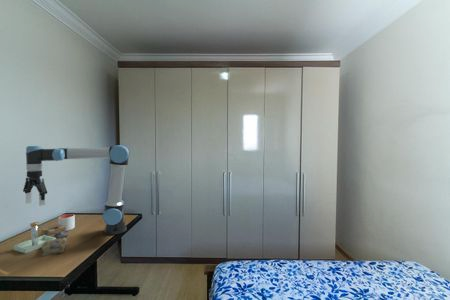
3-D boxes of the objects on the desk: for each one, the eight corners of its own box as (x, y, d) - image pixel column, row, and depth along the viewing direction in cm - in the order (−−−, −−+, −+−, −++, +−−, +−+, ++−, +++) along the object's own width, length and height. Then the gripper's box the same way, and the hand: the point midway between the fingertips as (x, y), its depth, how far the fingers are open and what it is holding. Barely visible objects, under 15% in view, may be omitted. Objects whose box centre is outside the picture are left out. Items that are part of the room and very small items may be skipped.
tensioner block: (72, 235, 167) (72, 228, 167) (57, 240, 158) (57, 233, 158) (56, 231, 174) (56, 224, 174) (42, 236, 164) (41, 229, 164)
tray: (56, 242, 155) (56, 237, 155) (25, 253, 139) (25, 248, 139) (44, 239, 160) (44, 235, 160) (13, 250, 144) (13, 245, 144)
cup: (77, 227, 183) (77, 214, 183) (68, 232, 173) (67, 218, 173) (65, 226, 184) (65, 213, 184) (55, 231, 174) (55, 218, 174)
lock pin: (40, 244, 150) (39, 222, 150) (33, 247, 147) (32, 224, 146) (36, 243, 152) (35, 221, 151) (29, 245, 148) (28, 223, 148)
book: (46, 246, 150) (46, 238, 150) (67, 243, 155) (67, 235, 155) (41, 256, 137) (41, 247, 137) (64, 252, 142) (64, 244, 142)
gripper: (53, 170, 147) (54, 204, 147) (29, 169, 156) (30, 200, 157) (40, 172, 140) (41, 207, 141) (15, 170, 149) (16, 203, 150)
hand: (35, 204), depth 149 cm, fingers open, 13 cm apart
